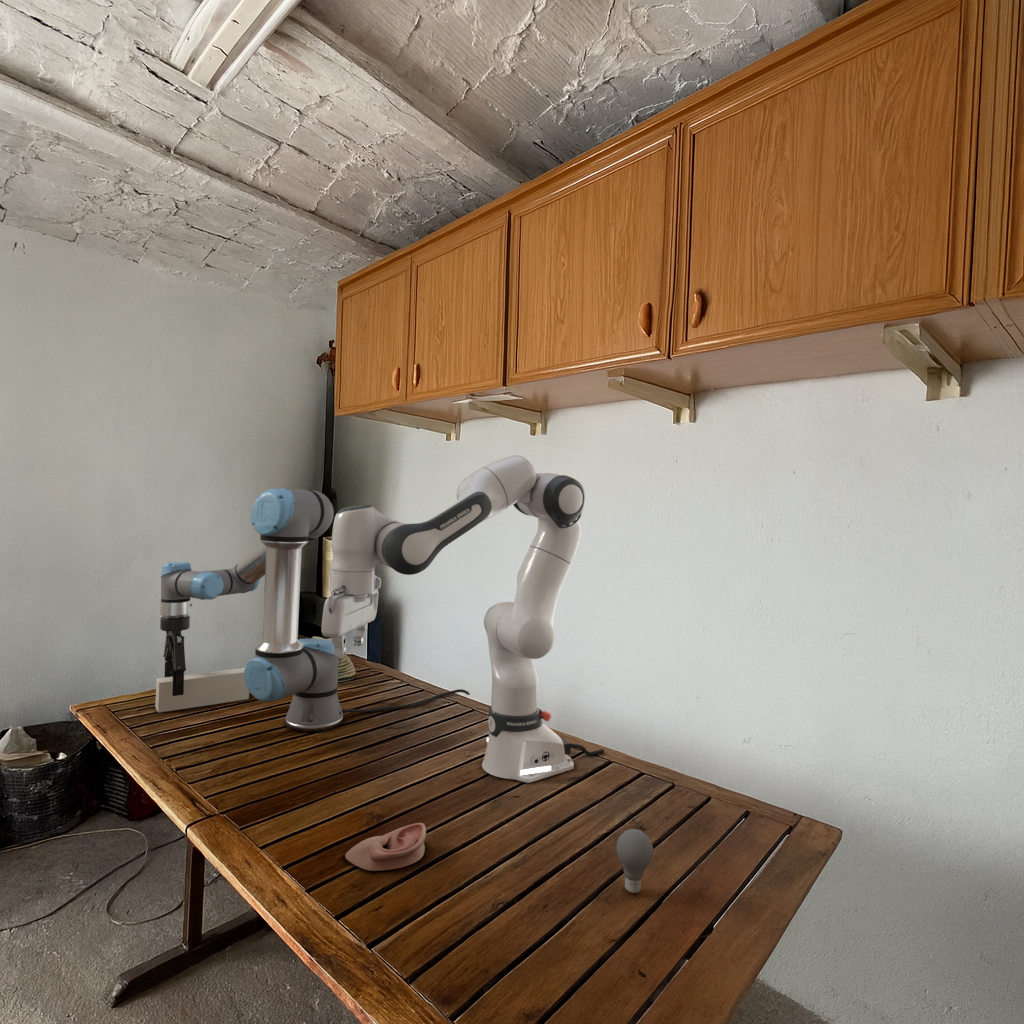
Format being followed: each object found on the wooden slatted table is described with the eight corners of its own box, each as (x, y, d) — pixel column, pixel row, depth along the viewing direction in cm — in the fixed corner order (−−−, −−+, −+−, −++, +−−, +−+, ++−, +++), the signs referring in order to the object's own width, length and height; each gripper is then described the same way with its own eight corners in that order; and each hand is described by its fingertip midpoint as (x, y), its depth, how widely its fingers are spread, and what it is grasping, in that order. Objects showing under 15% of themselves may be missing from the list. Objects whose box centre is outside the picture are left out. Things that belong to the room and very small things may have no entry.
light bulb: (610, 879, 108) (613, 822, 108) (644, 879, 109) (647, 822, 109) (619, 902, 102) (622, 840, 102) (655, 901, 103) (658, 840, 103)
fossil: (295, 681, 213) (297, 637, 213) (346, 673, 226) (347, 631, 225) (307, 688, 207) (308, 642, 206) (358, 679, 219) (360, 636, 219)
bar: (158, 712, 179) (159, 682, 179) (155, 707, 183) (156, 678, 182) (248, 699, 194) (249, 671, 194) (244, 694, 198) (245, 667, 198)
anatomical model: (337, 842, 109) (366, 811, 120) (336, 865, 109) (365, 832, 120) (410, 854, 106) (432, 821, 117) (409, 878, 106) (432, 842, 118)
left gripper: (198, 621, 175) (196, 698, 175) (181, 608, 195) (180, 677, 195) (168, 624, 170) (166, 702, 171) (154, 610, 190) (152, 680, 190)
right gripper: (346, 591, 119) (343, 664, 120) (383, 578, 140) (381, 641, 140) (314, 589, 120) (311, 661, 121) (356, 577, 141) (354, 639, 141)
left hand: (173, 689), depth 183 cm, fingers open, 13 cm apart
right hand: (349, 650), depth 130 cm, fingers open, 8 cm apart
